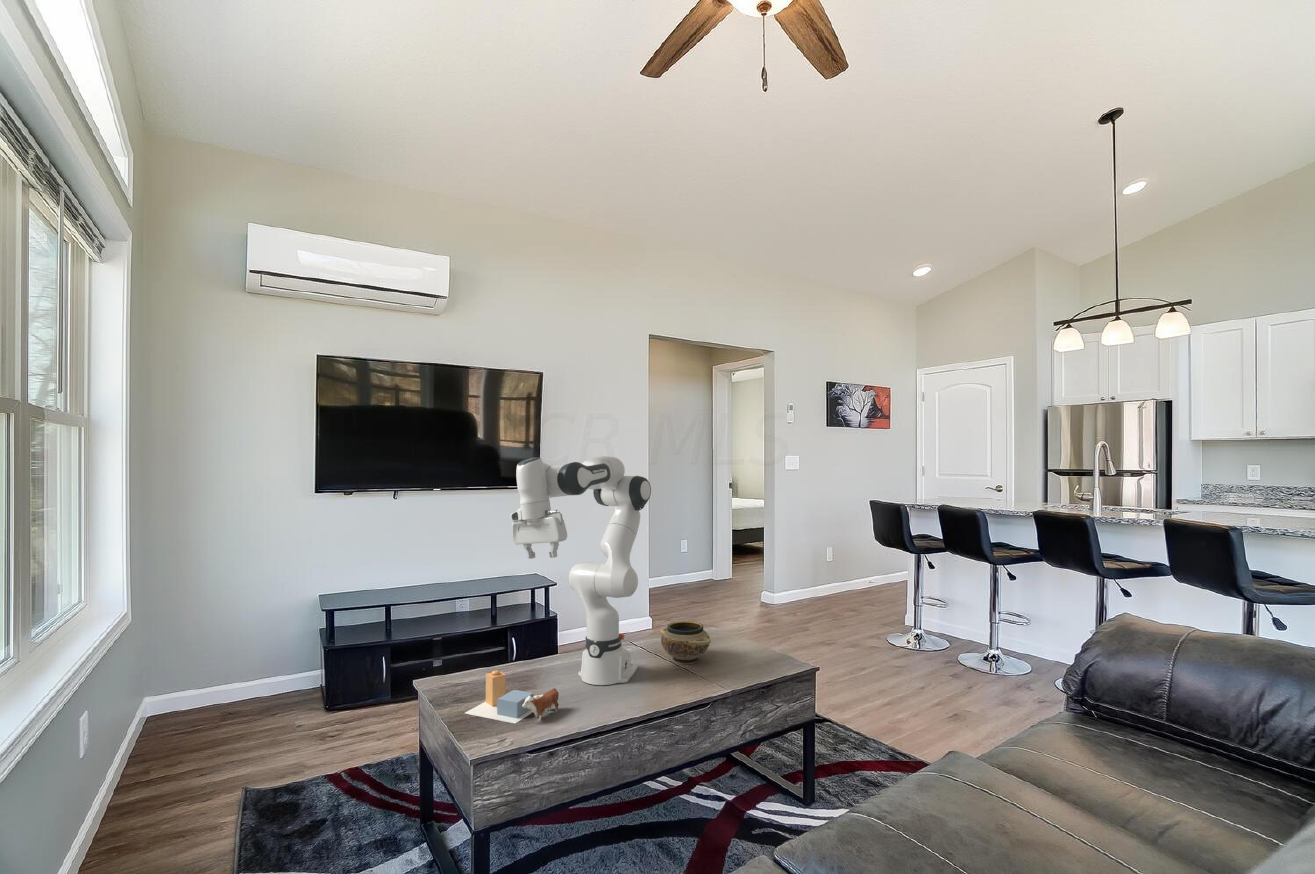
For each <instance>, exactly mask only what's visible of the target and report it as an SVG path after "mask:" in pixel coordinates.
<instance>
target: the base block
mask: <svg viewBox="0 0 1315 874" xmlns="http://www.w3.org/2000/svg"><path fill="white" fill-rule="evenodd" d="M528 696H531V697H534V692H529V691H523V690H519V689H513V690H510V691H508V692H506V694H505V695H503V696H502V697H500V698H498V699H497V715H502V716H507V717H512V718H519V717H520V716H522V715H523V714H525V713H527V712H528V711H530V710H531V709H528V708H527V707H526V708H523V707H522V705H523V704H524V702H525V699H526V698H527V697H528Z"/></svg>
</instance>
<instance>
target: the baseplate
mask: <svg viewBox="0 0 1315 874" xmlns="http://www.w3.org/2000/svg"><path fill="white" fill-rule="evenodd" d="M464 714H465V715H466V714H467V715H471V716H476V717H481V718H486V719H491V720H495V721H501V722H505V723H510V724H517V723H518V722H520V721H521V720H523V719H524V718H526V717H528V716H529V715H531V714H533V712H532V710H530V711H528V712H527V713H525V714H523V715H522V716H520V717H519V718H512V717H507V716H502V715H497V706H493V707H492V706H490V705H489V704H487V703H486V700H485V701H483V702H481V703H480V704H479V705H476V706H475V707H473V708H471V709H469V710H467V711H466V712H464Z"/></svg>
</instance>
